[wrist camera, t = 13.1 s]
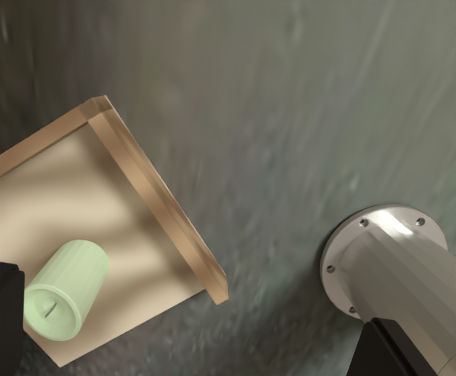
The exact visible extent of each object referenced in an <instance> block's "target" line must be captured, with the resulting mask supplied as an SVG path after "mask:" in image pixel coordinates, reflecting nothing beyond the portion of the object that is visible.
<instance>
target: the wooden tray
mask: <svg viewBox="0 0 456 376" xmlns="http://www.w3.org/2000/svg"><path fill="white" fill-rule="evenodd" d="M72 240H87V241H90V242H93V243H95V244H97V245H98V246H100V247H101V248H102V249H103V250H104V252H105V253H106V255H107V256H108V260H109V271H108V274H107V276H106V278H105V280H104V282H103V284H102V286H101V288H100V290H99V292H98V294H97V296H96V298H95V300H94V302H93V304H92V306H91V308H90V311H89V313H88V315H87V317H86V319H85V321H84V323H83V325H82V327H81V329H80V331H79V332H78V334H77V335H76V336H75V337H73V338H72V339H70V340H66V341H54V340H51V339H47V338H45V337H43V336H41V335H40V334H38V333H37V332H36V331H34V330H33V329H32V328H31V327H30V326H29V324H28V323H27V322H26V320H25V319H24V317H23V329H24V330H25V331H26V332H27V334H28V335H29V336H30V337H31V338H32V339H33V340H34V341H35V342H36V343H37V344H38V345H39V346H40V347H41V348H42V349H43V350H44V351H45V352H46V354H47V355H48V356H49V357H50V358H51V359H52V360H53V361H54V362H55V363H56V364H57V365H58V366H59V367H62V366H64V365H65V364H67V363H69V362H71V361H73V360H75V359H77V358H78V357H80V356H82V355H84V354H86V353H88V352H89V351H91V350H93V349H95V348H97V347H99V346H101V345H102V344H104V343H106V342H108V341H110V340H112V339H113V338H115V337H117V336H119V335H121V334H123V333H125V332H126V331H128V330H130V329H132V328H134V327H136V326H137V325H139V324H141V323H143V322H145V321H147V320H149V319H150V318H152V317H154V316H156V315H158V314H160V313H161V312H163V311H165V310H167V309H169V308H171V307H173V306H174V305H176V304H178V303H180V302H182V301H184V300H185V299H187V298H189V297H191V296H193V295H195V294H197V293H198V292H200V291H202V290H204V289H206V290H207V291H208V293H209V294H210V296H211V297H212V299H213V300H214V301H215V303H216V304H217V305H218V304H220V303H221V302H223V301H225V300H227V299H229V298H228V288H227V279H226V274H225V272H224V271H223V269H222V268H221V266H220V265H219V263H218V262H217V260H216V259H215V257H214V256H213V254H212V253H211V251H210V250H209V248H208V247H207V246H206V244H205V243H204V241H203V240H202V238H201V237H200V235H199V234H198V232H197V231H196V229H195V228H194V226H193V225H192V223H191V222H190V220H189V219H188V217H187V216H186V214H185V213H184V211H183V210H182V208H181V207H180V205H179V204H178V202H177V201H176V199H175V198H174V196H173V195H172V193H171V192H170V190H169V189H168V187H167V186H166V184H165V183H164V181H163V180H162V178H161V177H160V176H159V174H158V173H157V171H156V170H155V168H154V167H153V165H152V164H151V162H150V161H149V159H148V158H147V156H146V155H145V153H144V152H143V150H142V149H141V147H140V146H139V144H138V143H137V141H136V140H135V138H134V137H133V135H132V134H131V132H130V131H129V129H128V128H127V126H126V125H125V123H124V122H123V120H122V119H121V117H120V116H119V114H118V113H117V111H116V110H115V108H114V107H113V105H112V104H111V103H110V101H109V100H108V98H107V97H106V95H104V96H99V97H94V98H90V99H89V100H87V101H85V102H84V103H82V104H81V105H79V106H77V107H76V108H74V109H73V110H71V111H70V112H68V113H66V114H65V115H63V116H62V117H60V118H58V119H57V120H55V121H54V122H52V123H50V124H49V125H47V126H46V127H44V128H42V129H41V130H39V131H38V132H36V133H34V134H33V135H31V136H30V137H28V138H26V139H25V140H23V141H22V142H20V143H18V144H17V145H15V146H14V147H12V148H11V149H9V150H7V151H6V152H4V153H3V154H1V155H0V262H5V263H12V264H17V265H18V267H19V270H20V271H23V272H24V273H25V288H26V287H27V286H28V285H29V283H30V282H31V281H32V280H33V279H34V278H35V276H36V275H37V274H38V273H39V272H40V270H41V269H42V268H43V267H44V266H45V265H46V263H47V262H48V261H49V260H50V259H51V257H52V256H53V255H54V254H55V253H56V251H57V250H58V249H59V248H60V247H61V246H62V245H64V244H65V243H67V242H69V241H72Z"/></svg>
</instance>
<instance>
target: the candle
mask: <svg viewBox="0 0 456 376" xmlns="http://www.w3.org/2000/svg"><path fill="white" fill-rule="evenodd" d="M108 271H109V260H108V256H107V255H106V253H105V252H104V250H103V249H102V248H101V247H100V246H98V245H97V244H95V243H93V242H90V241H87V240H72V241H69V242H67V243H65V244H64V245H62V246H61V247H60V248H59V249H58V250H57V251H56V253H55V254H54V255H53V256H52V257H51V259H50V260H49V261H48V262H47V263H46V265H45V266H44V267H43V268H42V269H41V270H40V272H39V273H38V274H37V275H36V276H35V278H34V279H33V280H32V281H31V282H30V283H29V285H28V286H27V287H26V288H25V289H24V316H23V317H24V319H25V320H26V322H27V323H28V324H29V326H30V327H31V328H32V329H33V330H34V331H36V332H37V333H38V334H40V335H41V336H43V337H45V338H47V339H51V340H54V341H66V340H70V339H72V338H73V337H75V336H76V335H77V334H78V332H79V331H80V329H81V327H82V325H83V323H84V321H85V319H86V317H87V315H88V313H89V311H90V308H91V306H92V304H93V302H94V300H95V298H96V296H97V294H98V292H99V290H100V288H101V286H102V284H103V282H104V280H105V278H106V276H107V274H108Z"/></svg>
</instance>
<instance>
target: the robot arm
mask: <svg viewBox="0 0 456 376" xmlns="http://www.w3.org/2000/svg"><path fill="white" fill-rule="evenodd" d="M361 220H362V221H361ZM360 221H361V222H360ZM320 277H321V282H322V285H323V287H324V290H325V292H326V294H327V295H328V297H329V298H330V300H331V301H332V303H333V304H334V305H335V306H336V307H337V308H338V309H340V310H341V311H342V312H344V313H345V314H347V315H350V316H352V317H354V318H357V319H361V320H362V321H363V323H364V327H363V330H362V332H361V335H360V338H359V341H358V344H357V347H356V350H355V352H354V355H353V358H352V361H351V364H350V367H349V369H348V372H347V375H346V376H456V257H455V256H454V255H453V254H451V253H450V252H448V248H447V243H446V240H445V236H444V234H443V233H442V231H441V229H440V227H439V226H438V225H437V224H436V223H435V222H434V221H433V220H432V219H431V218H430V217H428V216H427V215H425V214H424V213H422V212H420V211H418V210H416V209H414V208H412V207H408V206H405V205H397V204H385V205H377V206H374V207H370V208H367V209H364V210H362V211H360V212H358V213H356V214H354V215H353V216H351V217H350V218H348V219H347V220H346V221H344V222H343V223H342V224H341V225H340V226H339V227H338V228H337V229H336V230H335V231H334V233H333V234H332V235H331V237H330V238H329V240H328V241H327V243H326V246H325V248H324V250H323V253H322V257H321V261H320ZM24 289H25V273H24V272H23V271H20V270H19V267H18V265H17V264H12V263H5V262H0V376H13V375H14V374H15V372H16V370H17V369H18V367H19V365H20V362H21V358H22V344H23V316H24Z"/></svg>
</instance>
